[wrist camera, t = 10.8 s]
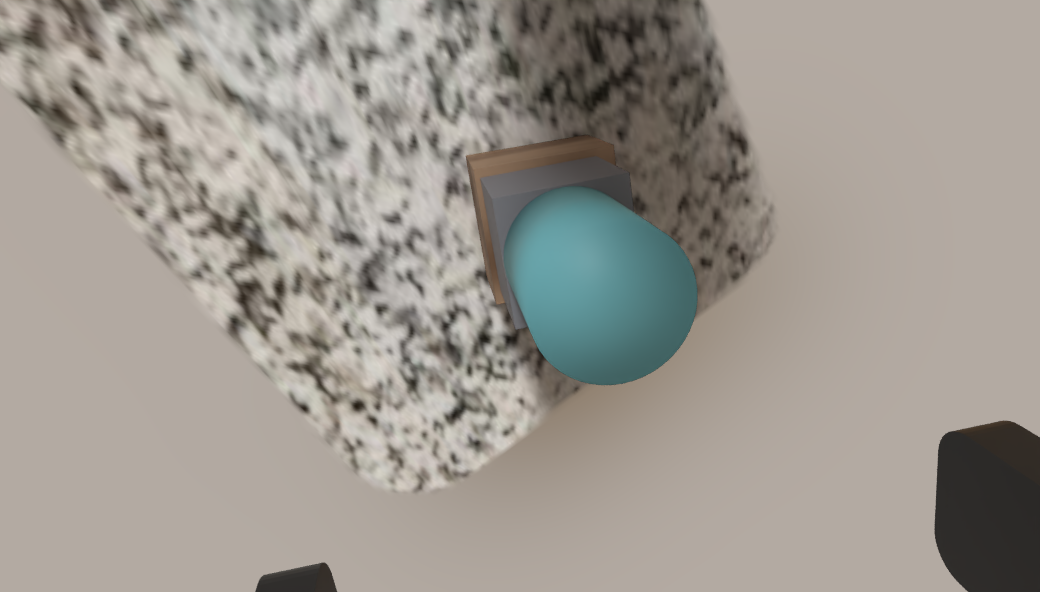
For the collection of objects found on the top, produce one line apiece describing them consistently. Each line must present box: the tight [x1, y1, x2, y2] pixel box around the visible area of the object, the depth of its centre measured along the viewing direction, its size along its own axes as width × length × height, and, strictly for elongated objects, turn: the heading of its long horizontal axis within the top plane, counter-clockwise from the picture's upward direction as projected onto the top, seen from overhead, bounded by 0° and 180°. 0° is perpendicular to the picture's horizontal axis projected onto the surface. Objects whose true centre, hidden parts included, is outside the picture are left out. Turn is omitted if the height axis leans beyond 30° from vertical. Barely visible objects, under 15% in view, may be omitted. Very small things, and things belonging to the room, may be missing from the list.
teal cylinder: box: [504, 186, 697, 385], centre depth 24 cm, size 5×5×6 cm
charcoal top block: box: [480, 156, 634, 330], centre depth 29 cm, size 5×5×5 cm
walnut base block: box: [466, 135, 616, 304], centre depth 34 cm, size 6×6×5 cm
